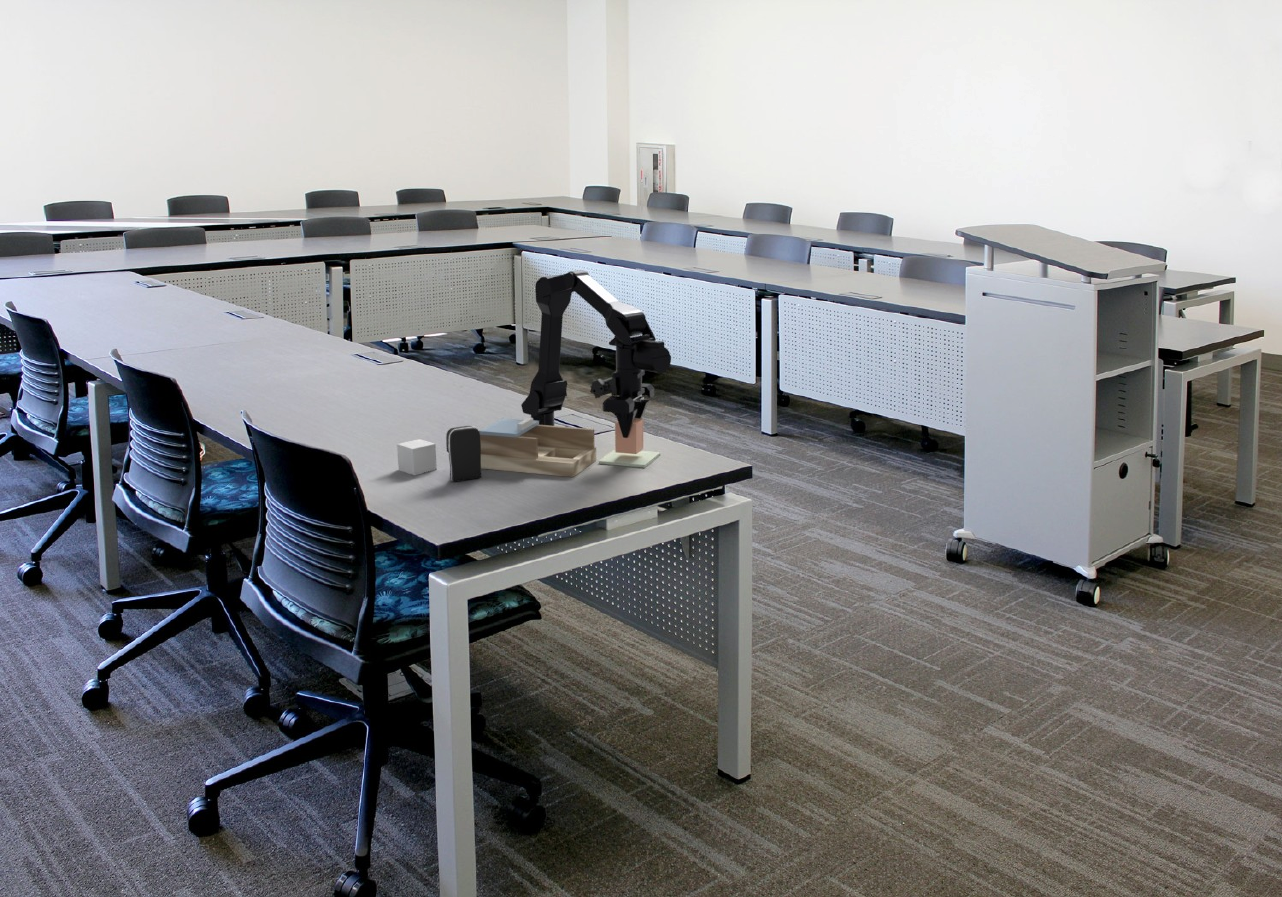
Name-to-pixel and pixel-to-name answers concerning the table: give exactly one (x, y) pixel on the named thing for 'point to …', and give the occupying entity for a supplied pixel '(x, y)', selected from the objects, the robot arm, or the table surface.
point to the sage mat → (630, 458)
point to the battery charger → (464, 453)
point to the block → (629, 438)
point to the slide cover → (509, 427)
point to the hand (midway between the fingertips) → (629, 434)
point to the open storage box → (540, 451)
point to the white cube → (416, 456)
